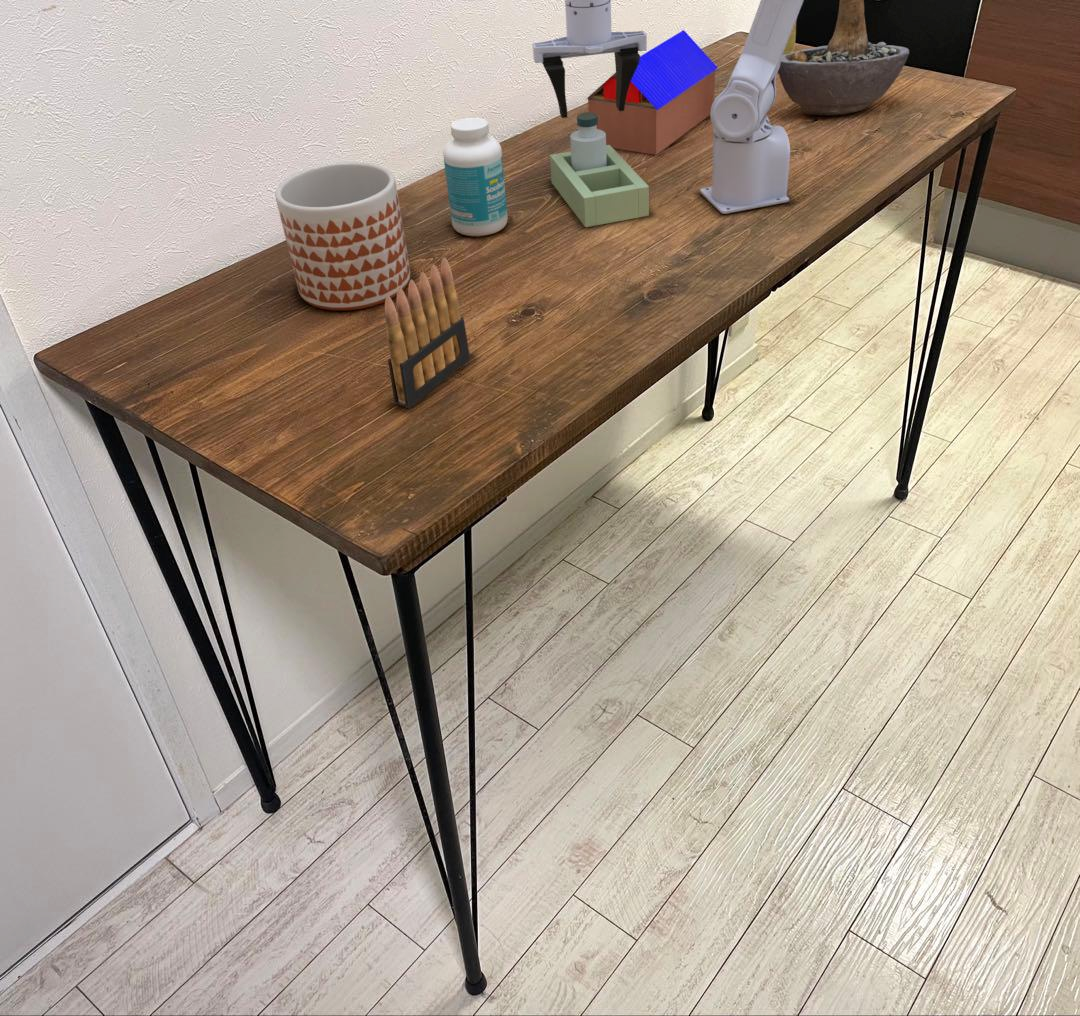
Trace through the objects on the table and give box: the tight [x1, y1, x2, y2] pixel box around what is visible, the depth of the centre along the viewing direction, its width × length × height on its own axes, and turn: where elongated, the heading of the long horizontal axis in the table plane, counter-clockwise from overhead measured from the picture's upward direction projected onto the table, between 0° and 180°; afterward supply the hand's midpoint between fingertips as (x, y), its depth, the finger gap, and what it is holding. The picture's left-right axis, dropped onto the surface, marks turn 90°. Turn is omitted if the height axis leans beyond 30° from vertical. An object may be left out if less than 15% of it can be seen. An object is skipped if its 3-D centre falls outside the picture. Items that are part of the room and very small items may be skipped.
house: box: [585, 29, 719, 156], centre depth 154 cm, size 12×20×12 cm, turn 147°
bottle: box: [569, 112, 607, 172], centre depth 139 cm, size 5×5×10 cm
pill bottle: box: [442, 117, 509, 237], centre depth 130 cm, size 8×7×14 cm
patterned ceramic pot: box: [274, 161, 412, 312], centre depth 120 cm, size 14×14×13 cm
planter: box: [777, 0, 910, 116], centre depth 152 cm, size 15×17×20 cm
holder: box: [549, 145, 650, 228], centre depth 138 cm, size 9×16×4 cm, turn 15°
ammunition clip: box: [384, 256, 471, 409], centre depth 102 cm, size 11×2×12 cm, turn 147°
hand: (592, 112), depth 136 cm, fingers open, 7 cm apart
